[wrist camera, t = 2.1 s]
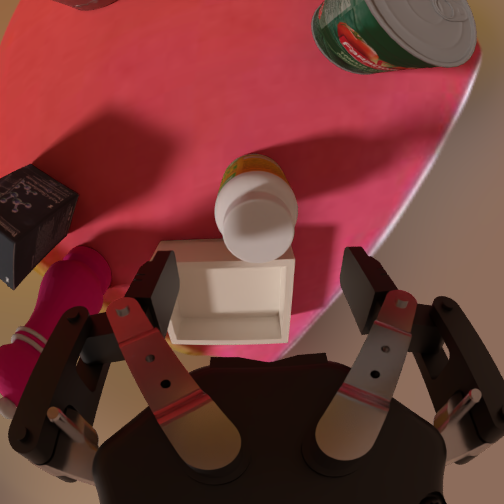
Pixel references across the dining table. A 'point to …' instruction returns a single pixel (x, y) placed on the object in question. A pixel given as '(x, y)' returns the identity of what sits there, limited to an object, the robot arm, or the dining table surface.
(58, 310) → the pepper mill
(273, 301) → the tub
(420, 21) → the canned tomato
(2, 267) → the box
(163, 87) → the dining table surface
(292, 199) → the supplement bottle
